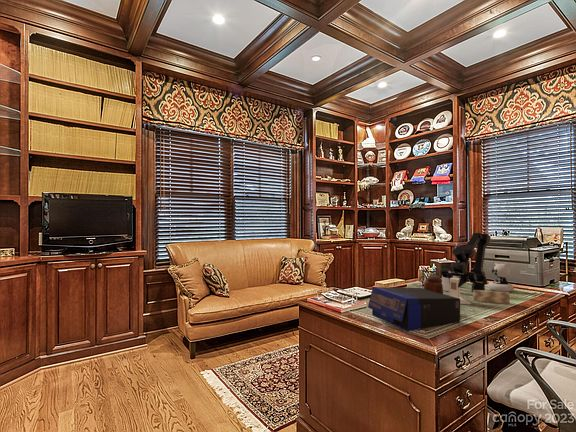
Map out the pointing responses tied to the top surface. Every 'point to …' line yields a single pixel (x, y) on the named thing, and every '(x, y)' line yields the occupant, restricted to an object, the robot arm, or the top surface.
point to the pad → (464, 301)
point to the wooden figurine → (434, 284)
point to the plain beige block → (454, 287)
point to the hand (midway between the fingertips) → (454, 286)
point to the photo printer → (446, 283)
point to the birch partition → (492, 296)
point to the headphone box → (414, 307)
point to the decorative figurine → (501, 279)
